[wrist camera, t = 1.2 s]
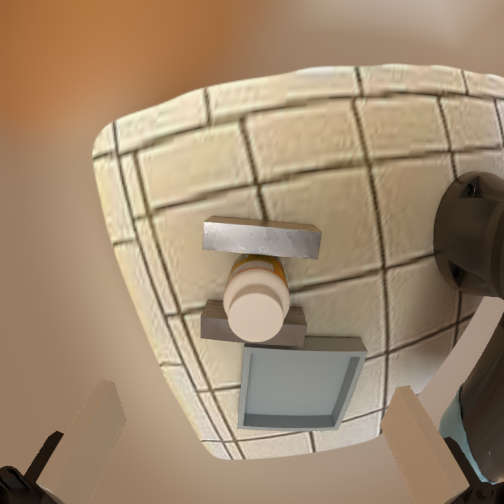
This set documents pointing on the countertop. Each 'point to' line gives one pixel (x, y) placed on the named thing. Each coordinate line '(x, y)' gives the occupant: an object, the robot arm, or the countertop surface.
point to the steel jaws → (265, 243)
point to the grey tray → (299, 384)
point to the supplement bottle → (256, 297)
